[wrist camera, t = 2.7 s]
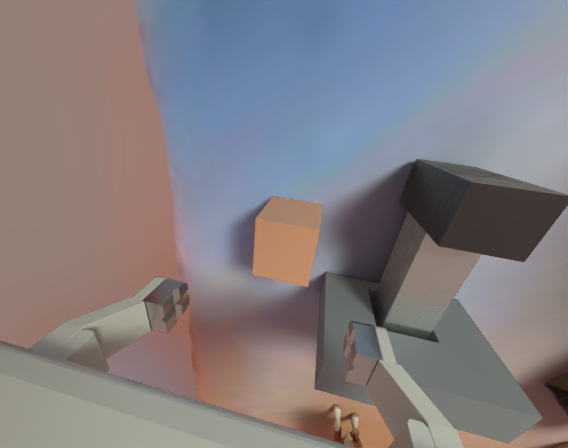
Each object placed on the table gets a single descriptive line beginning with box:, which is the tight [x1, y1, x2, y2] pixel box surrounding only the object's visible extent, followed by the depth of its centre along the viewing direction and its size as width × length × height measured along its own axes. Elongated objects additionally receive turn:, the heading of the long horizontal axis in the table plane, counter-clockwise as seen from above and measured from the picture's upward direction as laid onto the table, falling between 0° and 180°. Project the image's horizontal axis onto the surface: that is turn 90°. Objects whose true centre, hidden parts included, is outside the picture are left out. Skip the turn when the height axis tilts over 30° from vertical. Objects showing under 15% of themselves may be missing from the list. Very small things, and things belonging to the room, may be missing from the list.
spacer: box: [253, 196, 323, 287], centre depth 16 cm, size 4×4×4 cm
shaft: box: [371, 159, 568, 340], centre depth 14 cm, size 14×4×6 cm, turn 174°
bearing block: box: [314, 272, 543, 443], centre depth 15 cm, size 3×11×8 cm, turn 84°
